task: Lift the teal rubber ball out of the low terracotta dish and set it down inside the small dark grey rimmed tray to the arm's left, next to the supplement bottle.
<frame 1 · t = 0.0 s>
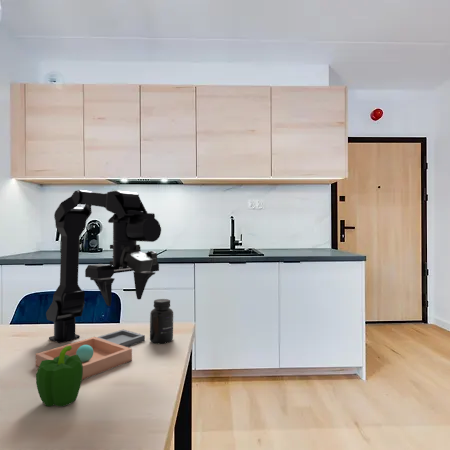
hand: (124, 302, 86), 15 cm above the table, tool pointing down, fingers open, 9 cm apart
bell pepper: (61, 402, 66), on the table
tray: (120, 341, 100), on the table
dish: (84, 363, 84), on the table
ball: (84, 353, 84), point 2 cm above the table, touching dish
supplement bottle: (161, 341, 101), on the table
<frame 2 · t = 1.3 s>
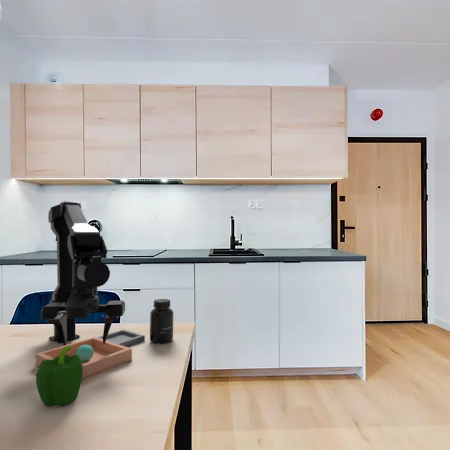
hand: (84, 344, 84), 5 cm above the table, tool pointing down, fingers open, 9 cm apart
nothing on the table moved.
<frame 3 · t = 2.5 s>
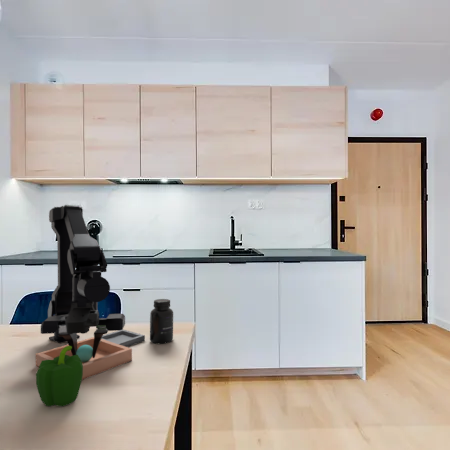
hand: (84, 358, 84), 1 cm above the table, tool pointing down, fingers closed on ball, 4 cm apart
ball: (84, 353, 84), point 2 cm above the table, touching dish, gripper
everything else where it was.
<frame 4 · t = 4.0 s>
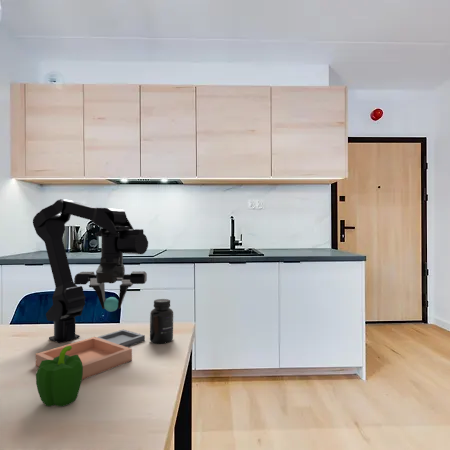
hand: (111, 308, 95), 11 cm above the table, tool pointing down, fingers closed on ball, 4 cm apart
ball: (111, 304, 95), point 12 cm above the table, touching gripper
everything else where it was.
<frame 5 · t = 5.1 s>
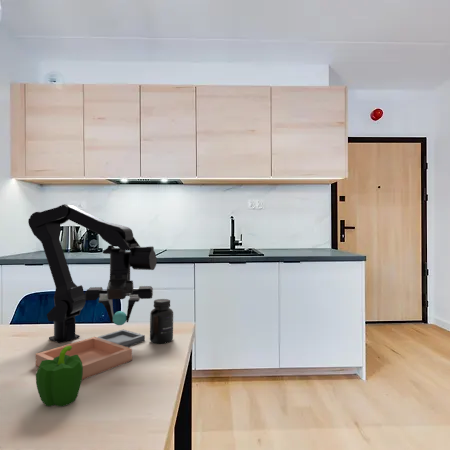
hand: (119, 322, 100), 6 cm above the table, tool pointing down, fingers closed on ball, 4 cm apart
ball: (119, 318, 100), point 7 cm above the table, touching gripper
everything else where it was.
when the fingers open (3 cm above the table, at t = 5.9 s): ball drops 1 cm, resting on tray.
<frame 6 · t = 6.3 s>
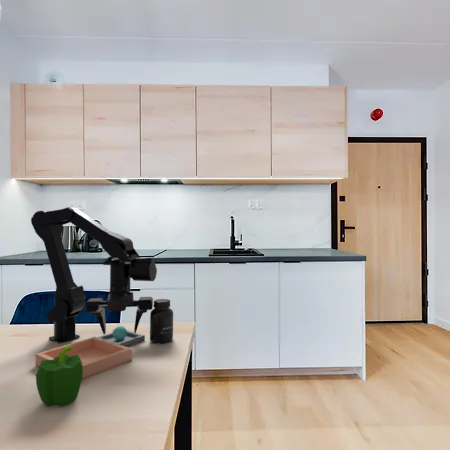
hand: (119, 333, 100), 3 cm above the table, tool pointing down, fingers open, 8 cm apart
ball: (119, 333, 100), point 3 cm above the table, touching tray
everything else where it was.
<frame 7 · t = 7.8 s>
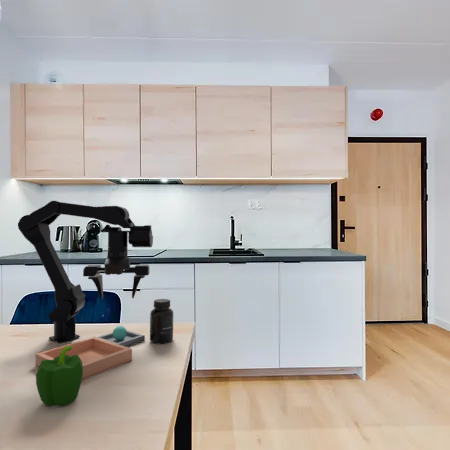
hand: (117, 298, 103), 12 cm above the table, tool pointing down, fingers open, 9 cm apart
nothing on the table moved.
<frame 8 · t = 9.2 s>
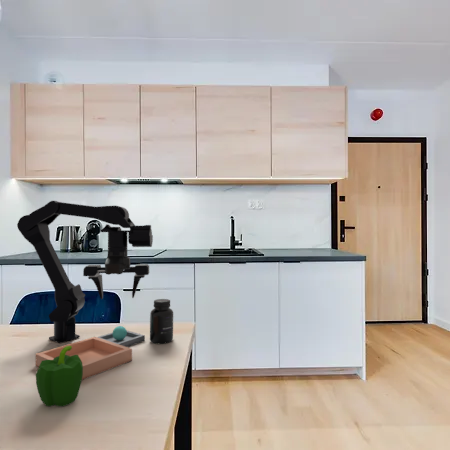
hand: (117, 298, 104), 12 cm above the table, tool pointing down, fingers open, 9 cm apart
nothing on the table moved.
at the end: ball inside the target area on the tray (0.1 cm from its centre), point 2.6 cm above the tray's base; the gripper is holding nothing; ball touching tray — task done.
